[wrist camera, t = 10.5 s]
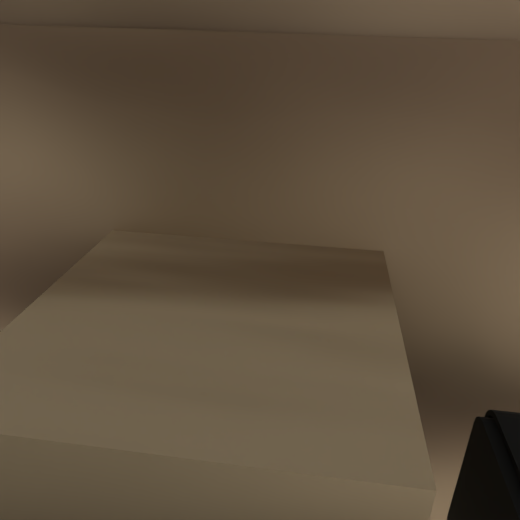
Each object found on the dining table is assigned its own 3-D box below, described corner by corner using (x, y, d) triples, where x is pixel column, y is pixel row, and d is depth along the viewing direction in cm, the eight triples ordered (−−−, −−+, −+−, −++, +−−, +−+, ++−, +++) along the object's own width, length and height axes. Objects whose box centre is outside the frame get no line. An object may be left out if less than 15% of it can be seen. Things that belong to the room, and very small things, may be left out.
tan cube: (112, 229, 11) (-100, 421, 6) (383, 251, 10) (436, 490, 5) (135, 430, 14) (5, 692, 8) (353, 457, 13) (366, 761, 8)
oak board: (-58, -16, 12) (-156, -27, 9) (657, 0, 10) (758, -9, 8) (48, 463, 19) (6, 526, 16) (483, 523, 17) (507, 603, 15)
